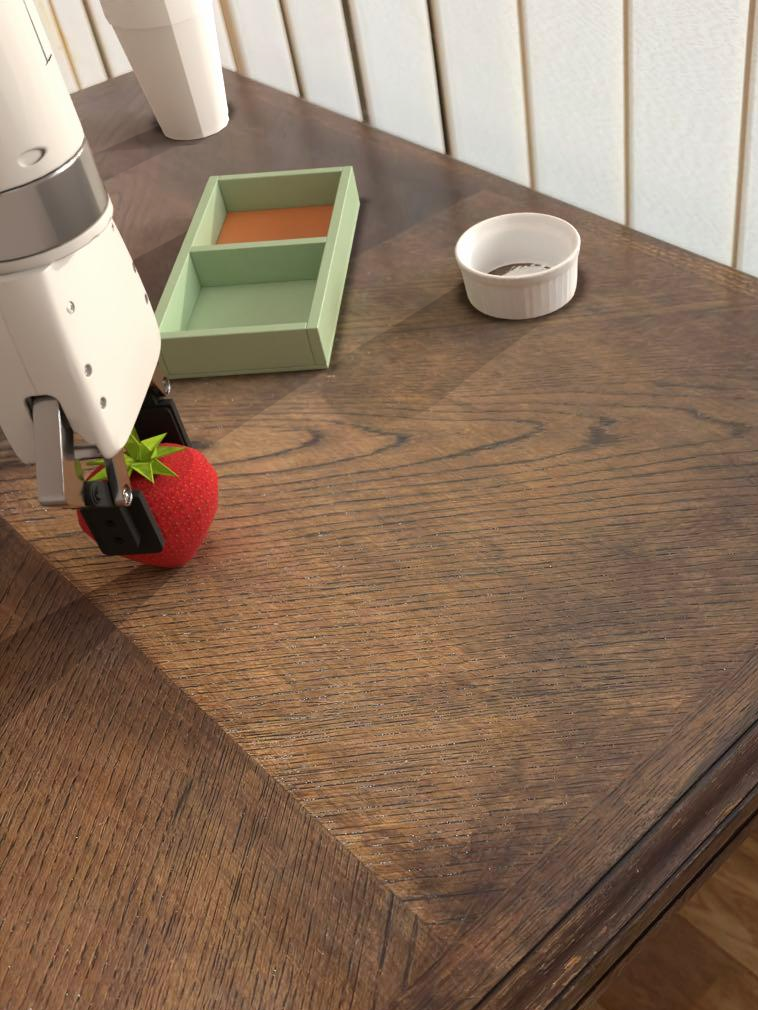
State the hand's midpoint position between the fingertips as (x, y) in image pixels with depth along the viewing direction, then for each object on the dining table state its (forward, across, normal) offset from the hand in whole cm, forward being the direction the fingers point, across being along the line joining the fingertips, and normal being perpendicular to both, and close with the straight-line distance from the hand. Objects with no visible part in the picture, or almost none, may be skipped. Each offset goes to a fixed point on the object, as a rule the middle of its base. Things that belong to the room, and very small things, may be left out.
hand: (150, 500), depth 58 cm
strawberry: (+5, 0, 0) cm, 5 cm away
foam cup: (+5, -58, -11) cm, 59 cm away
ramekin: (+5, -25, +20) cm, 32 cm away
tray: (+5, -28, +1) cm, 28 cm away
